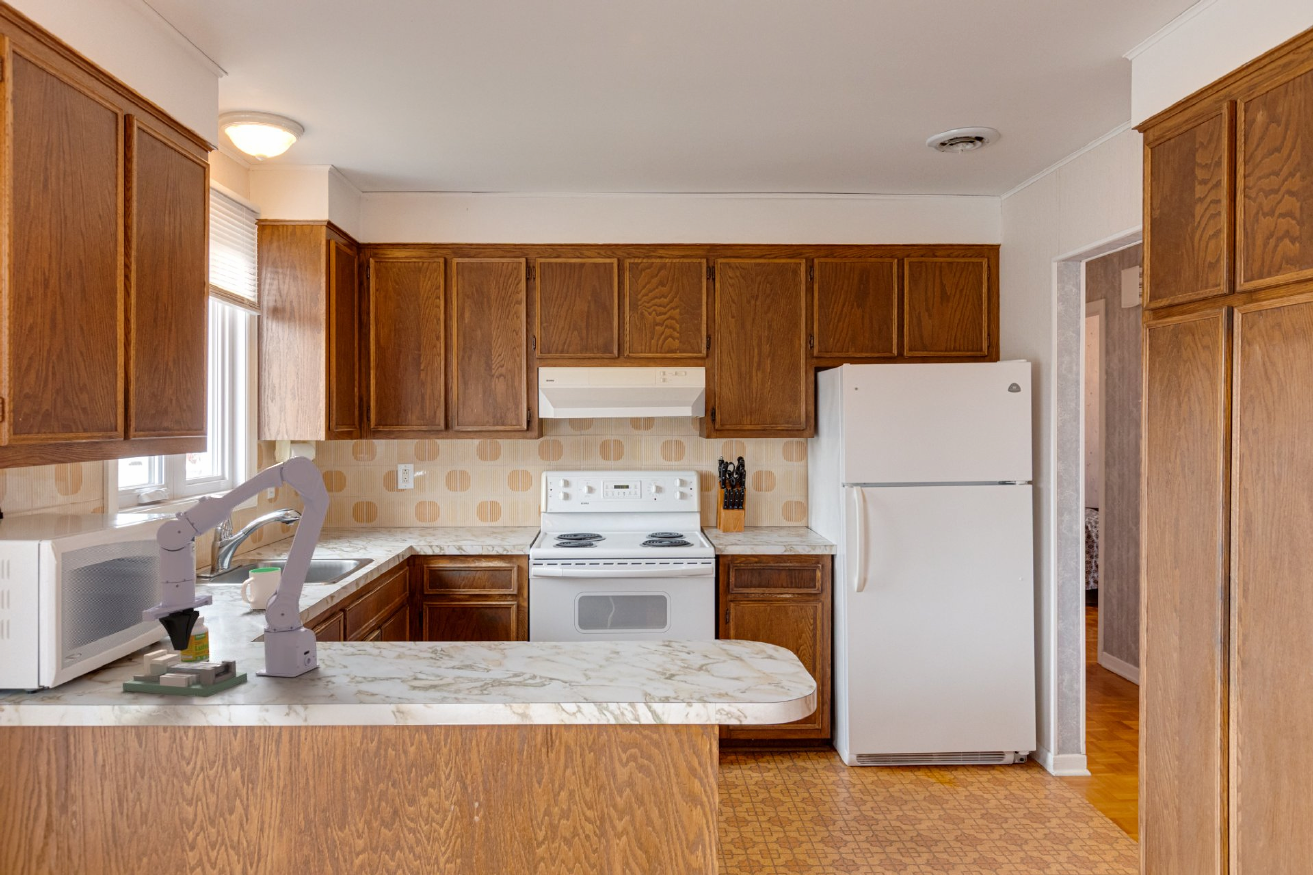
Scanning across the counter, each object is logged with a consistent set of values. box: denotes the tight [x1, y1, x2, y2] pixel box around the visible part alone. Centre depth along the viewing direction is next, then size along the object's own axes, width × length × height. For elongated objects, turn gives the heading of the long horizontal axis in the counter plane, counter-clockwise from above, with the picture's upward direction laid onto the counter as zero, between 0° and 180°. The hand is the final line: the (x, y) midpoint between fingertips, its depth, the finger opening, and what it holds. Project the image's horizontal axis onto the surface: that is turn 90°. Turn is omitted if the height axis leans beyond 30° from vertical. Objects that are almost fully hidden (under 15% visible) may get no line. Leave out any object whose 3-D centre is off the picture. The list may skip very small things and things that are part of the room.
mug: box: [240, 567, 282, 610], centre depth 231 cm, size 12×8×10 cm, turn 163°
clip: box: [143, 649, 180, 676], centre depth 163 cm, size 4×4×4 cm
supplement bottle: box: [180, 614, 210, 664], centre depth 178 cm, size 5×5×10 cm
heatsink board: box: [122, 659, 248, 698], centre depth 161 cm, size 20×10×4 cm, turn 74°
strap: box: [166, 662, 229, 676], centre depth 160 cm, size 12×4×2 cm, turn 74°
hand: (180, 649), depth 161 cm, fingers closed
